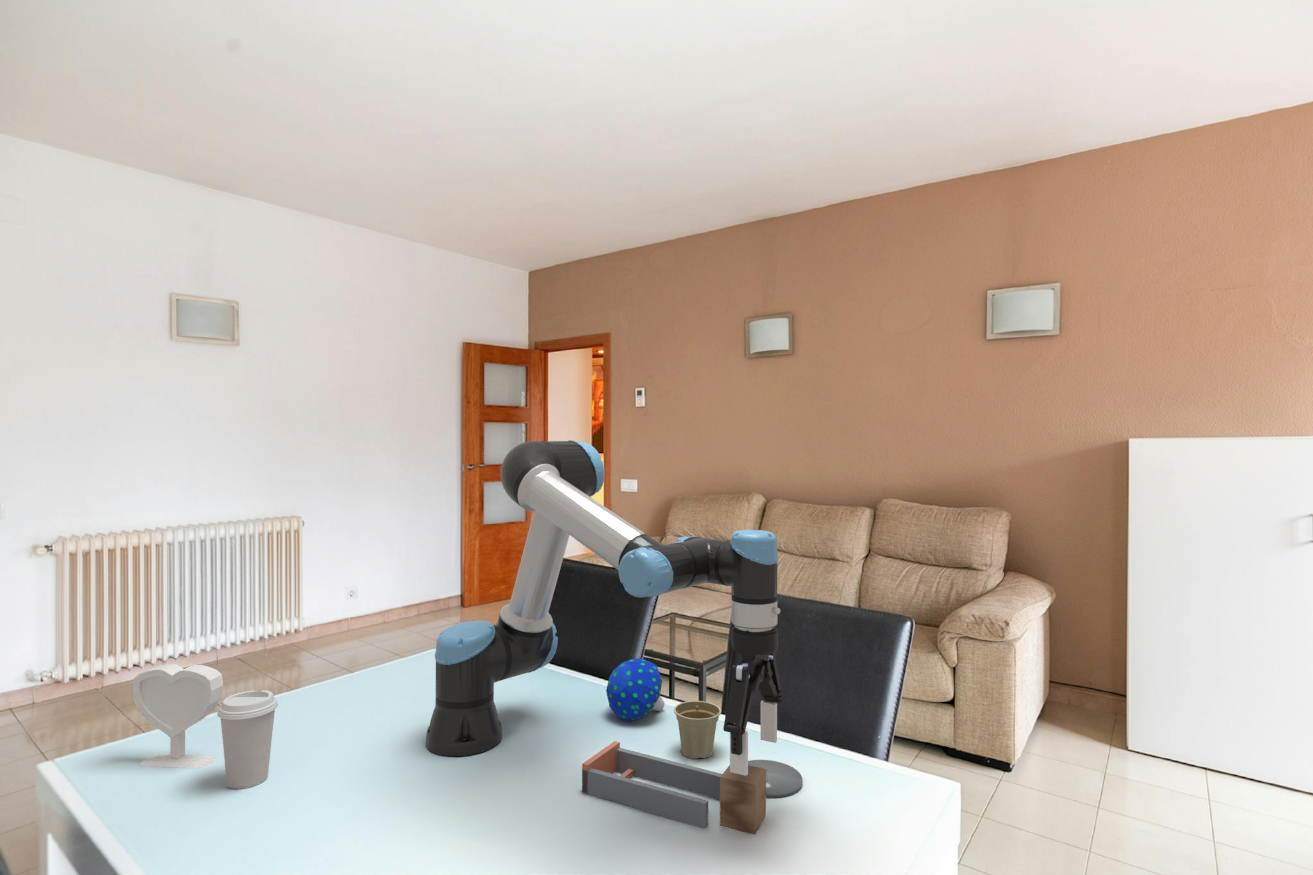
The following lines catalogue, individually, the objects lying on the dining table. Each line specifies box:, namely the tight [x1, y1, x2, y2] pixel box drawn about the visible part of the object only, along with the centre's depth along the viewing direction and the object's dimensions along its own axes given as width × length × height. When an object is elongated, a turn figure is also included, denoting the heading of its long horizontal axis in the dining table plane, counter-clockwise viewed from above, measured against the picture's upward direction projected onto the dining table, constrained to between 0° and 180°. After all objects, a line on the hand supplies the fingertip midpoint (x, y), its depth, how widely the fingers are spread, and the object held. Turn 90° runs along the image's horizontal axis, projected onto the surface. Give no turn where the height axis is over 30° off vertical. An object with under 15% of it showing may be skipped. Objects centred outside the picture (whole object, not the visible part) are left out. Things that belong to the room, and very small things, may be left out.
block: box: [719, 764, 767, 836], centre depth 117 cm, size 6×6×8 cm
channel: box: [581, 740, 723, 830], centre depth 125 cm, size 24×11×5 cm, turn 61°
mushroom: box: [605, 657, 665, 722], centre depth 161 cm, size 14×14×15 cm
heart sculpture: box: [132, 663, 224, 769], centre depth 136 cm, size 16×5×18 cm, turn 87°
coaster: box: [748, 759, 803, 799], centre depth 131 cm, size 13×13×1 cm
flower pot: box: [673, 700, 722, 760], centre depth 142 cm, size 9×9×9 cm
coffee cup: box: [216, 689, 279, 790], centre depth 129 cm, size 10×10×15 cm
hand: (754, 756), depth 116 cm, fingers open, 13 cm apart
